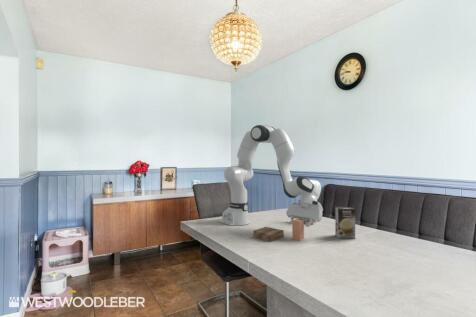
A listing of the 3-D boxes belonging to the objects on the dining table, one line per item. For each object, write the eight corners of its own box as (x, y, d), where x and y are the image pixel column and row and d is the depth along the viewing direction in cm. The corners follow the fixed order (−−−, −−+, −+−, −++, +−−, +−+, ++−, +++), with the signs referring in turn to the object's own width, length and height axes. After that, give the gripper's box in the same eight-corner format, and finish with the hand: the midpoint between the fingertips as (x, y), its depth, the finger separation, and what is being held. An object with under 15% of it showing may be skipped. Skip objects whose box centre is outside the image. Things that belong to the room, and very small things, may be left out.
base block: (253, 238, 146) (253, 230, 146) (266, 233, 155) (266, 226, 155) (271, 242, 138) (271, 234, 138) (283, 237, 147) (283, 230, 147)
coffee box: (338, 238, 144) (338, 208, 144) (335, 235, 150) (334, 206, 150) (355, 238, 143) (355, 209, 143) (351, 235, 149) (351, 206, 149)
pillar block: (292, 238, 143) (292, 220, 143) (296, 236, 147) (296, 218, 147) (299, 240, 140) (299, 221, 140) (303, 238, 144) (303, 220, 144)
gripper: (289, 199, 157) (280, 218, 149) (322, 203, 143) (314, 224, 136) (293, 206, 160) (284, 225, 153) (326, 210, 147) (318, 231, 139)
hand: (299, 225), depth 144 cm, fingers open, 8 cm apart
